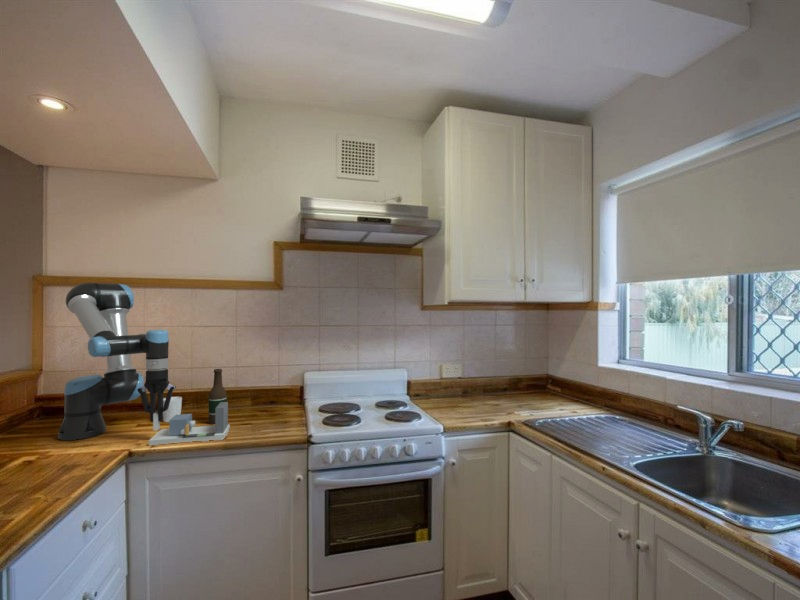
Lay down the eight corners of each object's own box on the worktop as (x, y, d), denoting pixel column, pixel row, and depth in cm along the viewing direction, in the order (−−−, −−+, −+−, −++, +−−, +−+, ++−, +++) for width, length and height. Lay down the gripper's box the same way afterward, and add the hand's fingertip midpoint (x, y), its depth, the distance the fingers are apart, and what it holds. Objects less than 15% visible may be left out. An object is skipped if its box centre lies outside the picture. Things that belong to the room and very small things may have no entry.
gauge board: (148, 446, 143) (148, 413, 144) (161, 434, 157) (161, 404, 157) (223, 439, 150) (224, 409, 150) (229, 428, 164) (230, 400, 164)
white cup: (166, 423, 171) (166, 401, 171) (159, 420, 176) (159, 398, 176) (184, 419, 177) (185, 398, 178) (177, 416, 182) (177, 395, 182)
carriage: (166, 438, 145) (166, 422, 145) (175, 429, 156) (175, 414, 156) (190, 436, 147) (190, 420, 147) (197, 427, 158) (197, 413, 158)
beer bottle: (205, 422, 173) (205, 369, 174) (222, 418, 179) (223, 367, 180) (212, 425, 168) (212, 371, 169) (229, 422, 174) (230, 369, 174)
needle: (185, 435, 147) (185, 425, 147) (186, 433, 149) (186, 424, 149) (187, 435, 147) (187, 425, 147) (189, 433, 149) (189, 424, 149)
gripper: (134, 371, 146) (133, 434, 145) (172, 369, 149) (171, 431, 148) (142, 368, 153) (141, 428, 152) (178, 367, 156) (177, 425, 156)
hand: (156, 429), depth 150 cm, fingers closed
